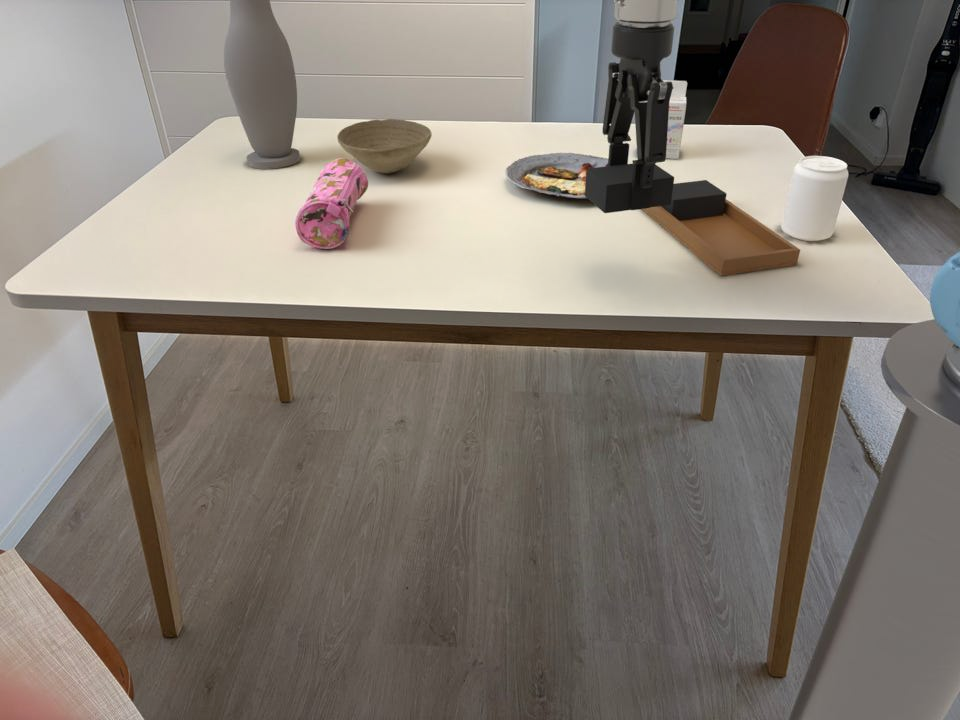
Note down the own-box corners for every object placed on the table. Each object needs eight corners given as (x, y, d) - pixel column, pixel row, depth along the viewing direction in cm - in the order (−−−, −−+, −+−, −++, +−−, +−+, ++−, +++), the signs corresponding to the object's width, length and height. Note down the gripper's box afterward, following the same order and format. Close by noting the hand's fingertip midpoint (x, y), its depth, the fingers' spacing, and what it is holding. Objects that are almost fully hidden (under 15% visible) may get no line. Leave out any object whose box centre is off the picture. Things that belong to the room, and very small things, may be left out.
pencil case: (354, 252, 122) (348, 200, 117) (296, 252, 122) (288, 200, 117) (371, 202, 139) (367, 155, 134) (322, 202, 140) (315, 155, 135)
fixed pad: (723, 215, 131) (726, 193, 129) (670, 222, 129) (673, 199, 126) (702, 201, 136) (706, 179, 134) (652, 207, 134) (654, 185, 132)
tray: (797, 265, 116) (800, 249, 114) (720, 276, 113) (723, 260, 112) (706, 200, 138) (708, 187, 137) (640, 208, 135) (642, 194, 134)
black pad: (670, 205, 104) (674, 177, 102) (604, 213, 102) (606, 185, 100) (648, 187, 110) (650, 161, 108) (584, 195, 108) (586, 168, 106)
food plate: (651, 175, 150) (653, 157, 148) (613, 216, 133) (615, 197, 131) (536, 157, 159) (536, 140, 157) (486, 193, 142) (486, 175, 140)
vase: (247, 175, 152) (211, -17, 133) (237, 156, 162) (203, -25, 143) (312, 166, 156) (286, -22, 137) (298, 148, 166) (273, -29, 147)
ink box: (637, 157, 159) (645, 84, 151) (638, 149, 163) (646, 79, 155) (679, 159, 157) (689, 86, 149) (678, 152, 161) (688, 80, 153)
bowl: (415, 190, 144) (412, 149, 140) (326, 182, 148) (321, 142, 144) (444, 159, 159) (442, 121, 154) (363, 153, 163) (359, 116, 159)
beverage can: (774, 223, 129) (789, 154, 122) (822, 223, 129) (840, 154, 122) (788, 243, 122) (805, 171, 116) (839, 243, 122) (858, 171, 115)
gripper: (584, 11, 101) (575, 178, 113) (653, 38, 85) (634, 228, 97) (636, 8, 102) (621, 172, 115) (713, 33, 86) (686, 221, 99)
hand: (627, 198), depth 106 cm, fingers closed on black pad, 7 cm apart
